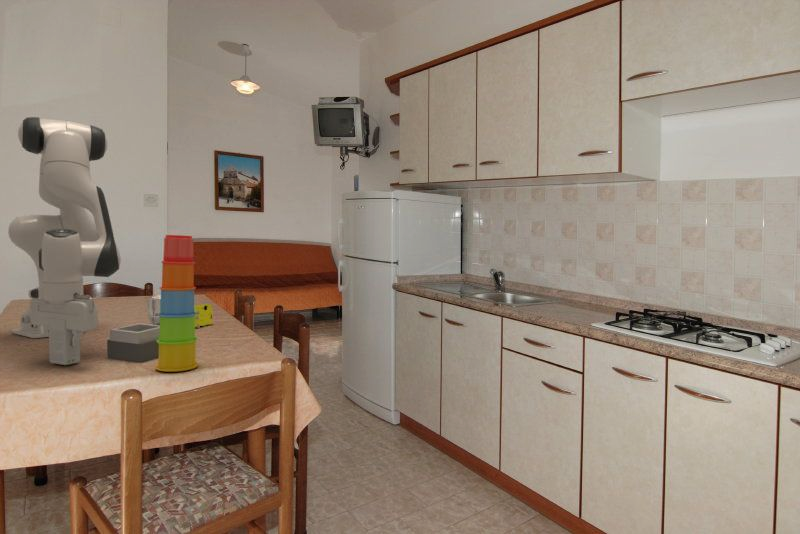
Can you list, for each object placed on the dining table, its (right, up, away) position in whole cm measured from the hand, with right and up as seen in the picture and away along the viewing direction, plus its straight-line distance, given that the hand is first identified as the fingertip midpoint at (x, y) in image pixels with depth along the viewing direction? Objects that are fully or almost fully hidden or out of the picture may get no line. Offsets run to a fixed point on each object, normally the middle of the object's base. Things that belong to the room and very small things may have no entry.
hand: (64, 344), depth 132 cm
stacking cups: (+30, -6, 0) cm, 30 cm away
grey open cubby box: (+14, -5, +10) cm, 18 cm away
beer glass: (+14, -4, +23) cm, 27 cm away
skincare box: (0, -5, 0) cm, 5 cm away
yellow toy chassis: (+12, -2, +49) cm, 51 cm away
